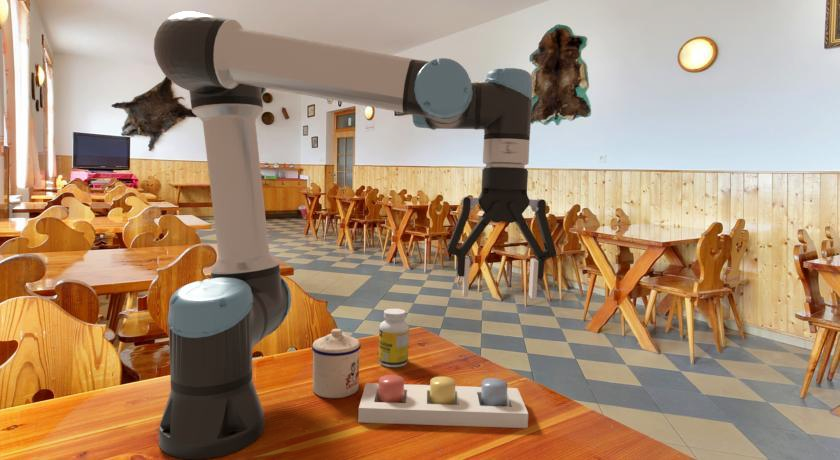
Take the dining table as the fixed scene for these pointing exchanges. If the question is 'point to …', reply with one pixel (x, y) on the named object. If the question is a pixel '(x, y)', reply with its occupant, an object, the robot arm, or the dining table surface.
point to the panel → (442, 408)
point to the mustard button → (442, 390)
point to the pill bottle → (393, 339)
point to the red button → (391, 389)
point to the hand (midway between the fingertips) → (498, 296)
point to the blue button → (494, 392)
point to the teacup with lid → (336, 365)
